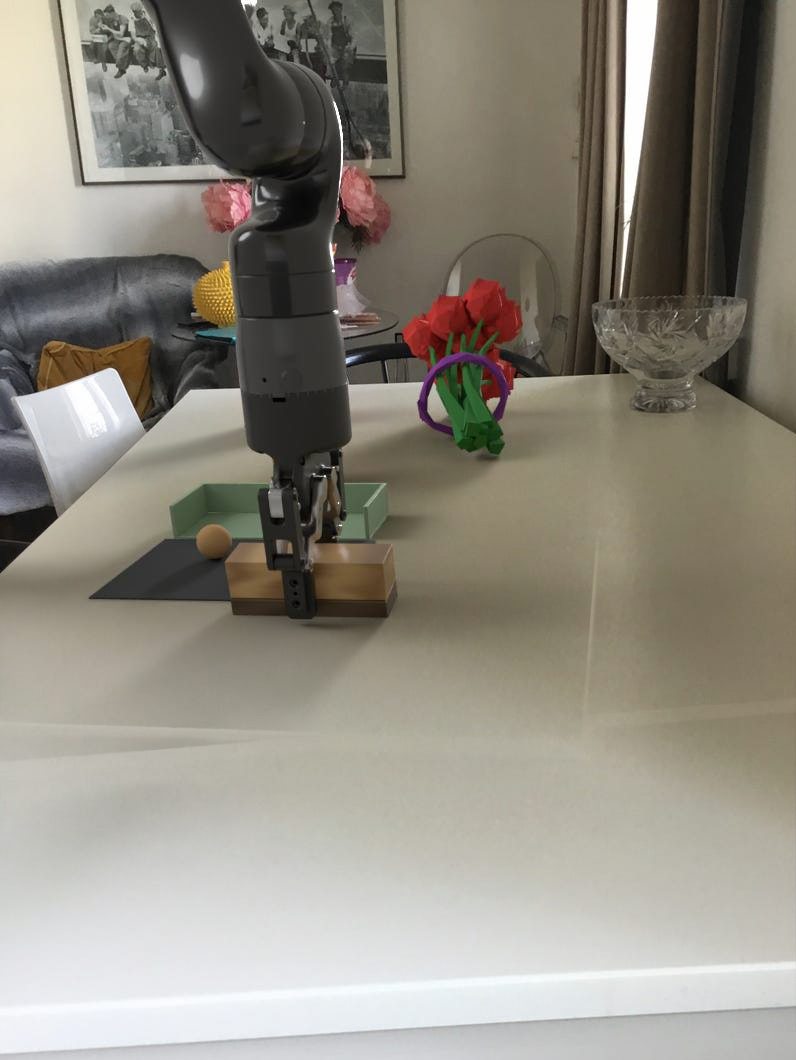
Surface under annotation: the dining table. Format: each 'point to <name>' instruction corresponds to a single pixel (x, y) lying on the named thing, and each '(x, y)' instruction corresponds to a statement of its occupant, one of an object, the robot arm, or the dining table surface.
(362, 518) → the dustpan
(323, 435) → the robot arm
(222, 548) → the ball
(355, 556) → the brush
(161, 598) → the mat
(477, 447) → the bouquet
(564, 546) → the dining table surface
